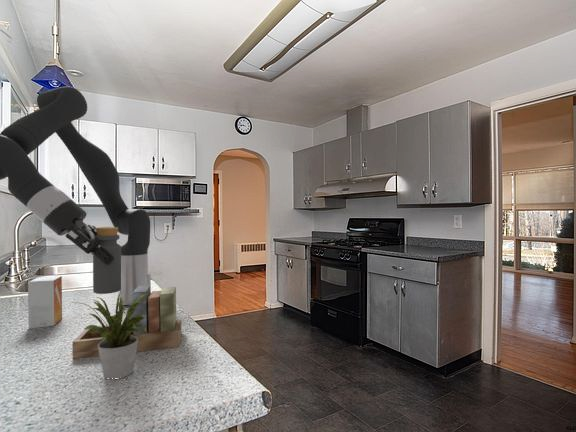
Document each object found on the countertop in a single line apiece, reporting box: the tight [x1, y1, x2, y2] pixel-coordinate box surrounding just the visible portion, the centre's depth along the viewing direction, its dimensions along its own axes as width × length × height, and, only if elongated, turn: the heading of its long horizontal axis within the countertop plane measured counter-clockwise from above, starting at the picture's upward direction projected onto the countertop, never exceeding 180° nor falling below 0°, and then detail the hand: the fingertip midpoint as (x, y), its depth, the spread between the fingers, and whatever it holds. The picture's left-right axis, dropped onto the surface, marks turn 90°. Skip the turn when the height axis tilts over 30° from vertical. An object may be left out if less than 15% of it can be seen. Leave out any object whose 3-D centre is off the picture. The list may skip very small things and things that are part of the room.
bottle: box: [92, 226, 122, 295], centre depth 79 cm, size 6×6×15 cm
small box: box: [27, 275, 63, 329], centre depth 98 cm, size 8×6×13 cm
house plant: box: [72, 290, 149, 379], centre depth 65 cm, size 14×14×16 cm
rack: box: [71, 285, 182, 359], centre depth 81 cm, size 22×10×13 cm, turn 105°
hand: (114, 260), depth 80 cm, fingers closed on bottle, 6 cm apart
